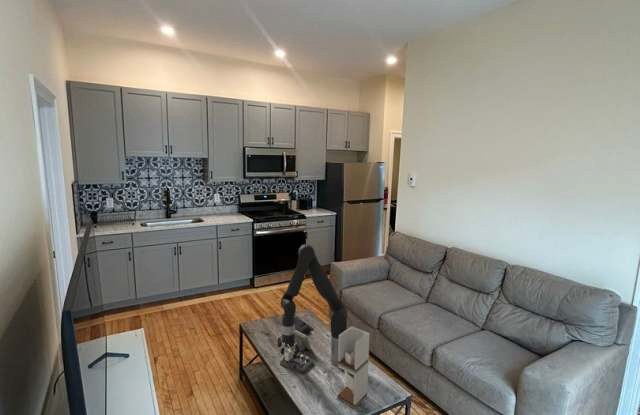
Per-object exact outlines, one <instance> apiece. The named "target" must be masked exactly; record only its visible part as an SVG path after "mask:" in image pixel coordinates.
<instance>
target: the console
mask: <svg viewBox="0 0 640 415" xmlns="http://www.w3.org/2000/svg"><path fill="white" fill-rule="evenodd" d="M314 363H315V359H314V358H311V357H310V356H309V355H305V354H304V353H301V354H300V352H299V353H298V354H297V357H296V359H294V360H293V353H292V359H291V360H289V361H286V360H285V355H284V356H283V357H282V359H281V360H280V361H279V365H281V366H282V367H284V368H286V369H290V370H292V371H294V372H296V373H299V374H301V375H304V373H306V372H307V371H308V370H309V368H311V366H313V365H314Z"/></svg>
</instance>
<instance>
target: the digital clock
mask: <svg viewBox="0 0 640 415" xmlns="http://www.w3.org/2000/svg"><path fill="white" fill-rule="evenodd" d="M294 342H295V343H299V351H300V352H302V351H304V350H305V349H306V350H308V351H309V350H311V349H312V346H311V343H310V340H309V337H308V336H307V335H306V334H302V333H300V332H298V331H296V330H295V339H294ZM292 348H293V347H292ZM300 352H299V353H300Z"/></svg>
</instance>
